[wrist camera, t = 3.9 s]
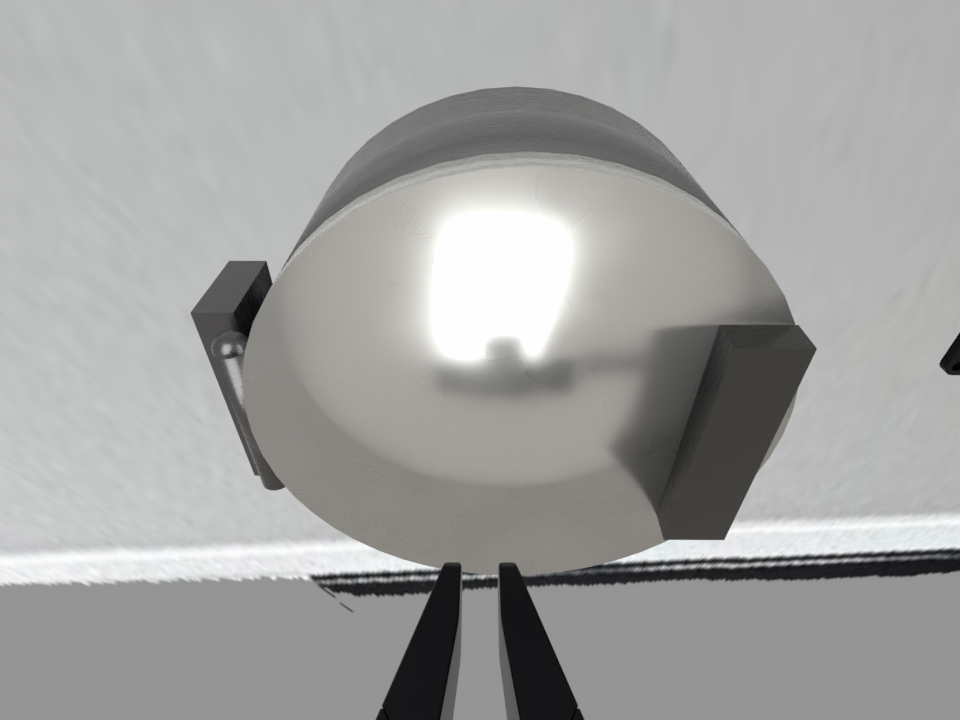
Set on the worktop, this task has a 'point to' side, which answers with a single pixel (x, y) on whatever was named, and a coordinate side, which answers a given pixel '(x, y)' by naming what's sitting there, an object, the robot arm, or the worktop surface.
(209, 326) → the pot
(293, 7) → the worktop surface
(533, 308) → the lid
